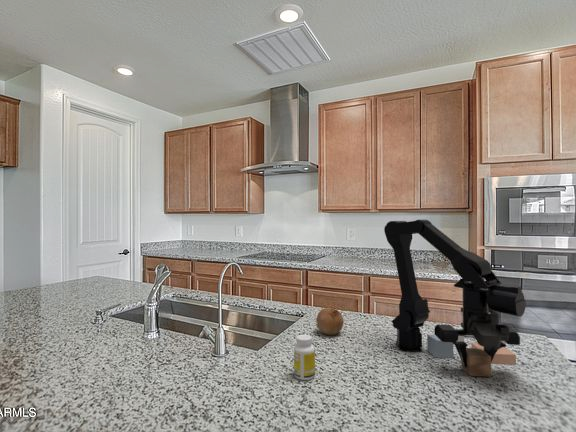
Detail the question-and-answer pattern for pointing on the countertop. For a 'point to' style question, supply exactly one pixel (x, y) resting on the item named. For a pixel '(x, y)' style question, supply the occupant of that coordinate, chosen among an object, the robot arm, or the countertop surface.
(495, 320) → the supplement bottle
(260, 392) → the countertop surface
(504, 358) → the base block
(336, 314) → the onion
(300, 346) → the supplement bottle
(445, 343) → the slate-blue cube
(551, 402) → the countertop surface
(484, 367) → the walnut cube
